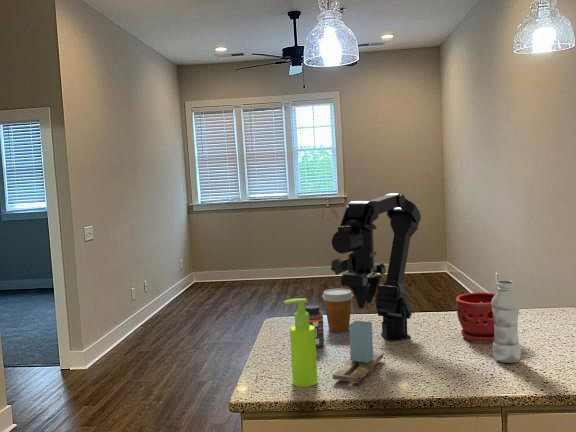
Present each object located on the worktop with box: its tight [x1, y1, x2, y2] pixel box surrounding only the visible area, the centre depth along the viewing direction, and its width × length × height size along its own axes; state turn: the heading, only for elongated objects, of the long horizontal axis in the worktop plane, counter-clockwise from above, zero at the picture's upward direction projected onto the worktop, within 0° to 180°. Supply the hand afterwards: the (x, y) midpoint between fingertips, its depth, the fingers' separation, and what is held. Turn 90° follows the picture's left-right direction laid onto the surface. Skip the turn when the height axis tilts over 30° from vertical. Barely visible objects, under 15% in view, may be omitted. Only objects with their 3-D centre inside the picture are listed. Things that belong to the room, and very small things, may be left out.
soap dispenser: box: [283, 297, 318, 388], centre depth 122 cm, size 6×7×20 cm
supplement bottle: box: [305, 304, 325, 349], centre depth 149 cm, size 6×6×11 cm
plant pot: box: [455, 292, 496, 344], centre depth 147 cm, size 13×13×12 cm
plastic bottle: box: [491, 280, 522, 364], centre depth 129 cm, size 6×7×20 cm
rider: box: [348, 320, 374, 366], centre depth 129 cm, size 4×4×10 cm
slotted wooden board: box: [332, 351, 384, 384], centre depth 128 cm, size 18×6×2 cm, turn 151°
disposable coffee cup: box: [321, 288, 354, 333], centre depth 163 cm, size 10×10×12 cm
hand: (365, 305), depth 139 cm, fingers open, 5 cm apart
